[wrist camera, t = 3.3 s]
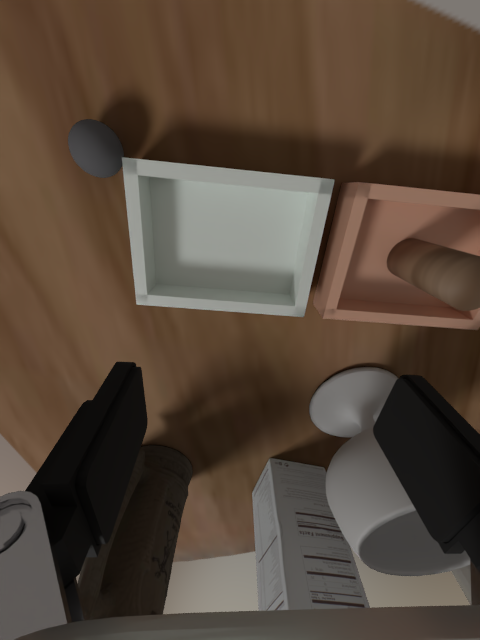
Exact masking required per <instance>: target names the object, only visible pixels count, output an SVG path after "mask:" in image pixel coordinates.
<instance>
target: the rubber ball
mask: <svg viewBox="0 0 480 640" xmlns="http://www.w3.org/2000/svg"><path fill="white" fill-rule="evenodd" d="M68 145H69V150H70V152H71V155H72V157H73V159H74V160H75V162H76V163H77V164H78V165H79V166H80V167H81V168H82V169H83V170H84V171H85V172H87V173H89V174H91V175H93V176H96V177H101V178H106V177H111V176H113V175H115V174H116V173H117V172H118V171H119V170H120V169H121V167H122V157H124V152H123V148H122V145H121V142H120V140H119V138H118V137H117V135H116V134H115V133H114V132H113V131H112V130H111V129H110V128H109V127H108V126H106V125H105V124H103V123H101V122H99V121H96V120H92V119H86V120H81V121H79V122H77V123H76V124H75V125H74V126H73V127H72V128H71V130H70V132H69V137H68Z"/></svg>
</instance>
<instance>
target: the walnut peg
mask: <svg viewBox="0 0 480 640" xmlns="http://www.w3.org/2000/svg"><path fill="white" fill-rule="evenodd" d="M387 268H388V270H389V271H390V272H391V273H392V274H393V275H395V276H397V277H399V278H401V279H402V280H404V281H406V282H408V283H410V284H412V285H414V286H415V287H417V288H419V289H421V290H423V291H425V292H426V293H428V294H430V295H432V296H434V297H436V298H437V299H439V300H441V301H443V302H445V303H447V304H448V305H450V306H452V307H454V308H456V309H458V310H462V311H471V310H475V309H478V308H480V256H477V255H474V254H470V253H466V252H463V251H459V250H455V249H452V248H448V247H445V246H441V245H437V244H434V243H430V242H426V241H423V240H419V239H415V238H408V239H405V240H402V241H400V242H399V243H397V244H396V245H395V246H394V247H393V248H392V249H391V251H390V253H389V255H388V257H387Z"/></svg>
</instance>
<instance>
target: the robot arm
mask: <svg viewBox="0 0 480 640" xmlns="http://www.w3.org/2000/svg"><path fill="white" fill-rule="evenodd" d="M146 429H147V412H146V404H145V395H144V387H143V379H142V370H141V367H136V364H135V363H134V362H116V363H115V365H114V366H113V368H112V370H111V371H110V373H109V374H108V376H107V378H106V379H105V381H104V383H103V384H102V386H101V387H100V389H99V391H98V392H97V394H96V395H95V397H94V399H93V400H87V401H85V402H84V403H83V404H82V405H81V407H80V408H79V410H78V411H77V413H76V414H75V416H74V417H73V419H72V420H71V422H70V423H69V425H68V426H67V428H66V430H65V431H64V433H63V434H62V436H61V437H60V439H59V440H58V442H57V443H56V445H55V446H54V448H53V449H52V451H51V452H50V454H49V455H48V457H47V459H46V460H45V462H44V463H43V465H42V466H41V468H40V469H39V471H38V472H37V474H36V475H35V477H34V478H33V480H32V482H31V483H30V484H29V486H28V488H27V489H26V491H17V492H12V493H8V494H5V495H3V496H1V497H0V640H480V434H479V433H478V432H477V431H476V430H475V429H474V428H473V427H472V426H471V425H470V424H469V423H468V422H467V421H466V420H465V419H464V418H463V417H462V416H461V415H460V414H459V413H458V412H457V411H456V410H455V409H454V408H453V407H452V406H451V405H450V404H449V403H448V402H447V401H446V400H445V399H444V398H443V397H442V396H441V395H440V394H439V393H438V392H437V391H436V390H435V389H434V388H433V387H432V386H431V385H430V384H429V383H428V382H427V381H426V380H425V379H424V378H423V377H422V376H419V375H402V376H401V377H400V378H399V379H397V380H396V382H395V384H394V386H393V388H392V390H391V392H390V394H389V396H388V398H387V400H386V402H385V404H384V406H383V408H382V410H381V412H380V414H379V416H378V418H377V420H376V422H375V424H374V427H373V434H374V437H375V439H376V440H377V442H378V444H379V446H380V447H381V449H382V451H383V453H384V455H385V456H386V458H387V460H388V462H389V463H390V465H391V467H392V469H393V470H394V472H395V474H396V476H397V477H398V479H399V481H400V483H401V485H402V486H403V488H404V490H405V492H406V493H407V495H408V497H409V499H410V500H411V502H412V504H413V506H414V507H415V509H416V511H417V513H418V514H419V516H420V518H421V520H422V522H423V523H424V525H425V527H426V529H427V530H428V532H429V534H430V535H431V537H432V538H433V539H434V540H435V541H437V542H438V544H439V545H440V547H441V549H442V551H443V552H444V554H461V553H462V552H464V551H466V553H467V554H468V556H469V557H470V565H468V566H465V567H462V568H458V569H455V570H451V571H452V573H453V575H454V576H455V578H456V580H457V582H458V583H459V585H460V587H461V589H462V591H463V592H464V594H465V596H466V598H467V599H468V601H469V603H470V605H468V606H418V607H384V608H383V607H381V608H380V607H379V608H340V609H303V610H270V611H239V612H207V613H183V614H162V615H144V616H126V617H111V618H103V619H94V620H87V618H86V614H85V610H84V607H83V603H82V599H81V595H80V592H79V588H78V584H77V580H76V576H77V575H79V574H80V572H81V569H82V566H83V564H84V561H85V558H86V557H98V554H99V552H100V549H101V546H102V544H107V543H108V542H109V540H110V538H111V535H112V532H113V529H114V526H115V523H116V520H117V517H118V514H119V511H120V508H121V505H122V502H123V499H124V496H125V493H126V490H127V487H128V484H129V481H130V478H131V475H132V472H133V469H134V466H135V463H136V460H137V457H138V454H139V451H140V448H141V444H142V441H143V438H144V435H145V432H146Z"/></svg>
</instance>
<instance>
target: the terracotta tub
mask: <svg viewBox="0 0 480 640" xmlns="http://www.w3.org/2000/svg"><path fill="white" fill-rule="evenodd" d="M408 238H415V239H419V240H423V241H426V242H430V243H434V244H437V245H441V246H445V247H448V248H452V249H455V250H459V251H463V252H466V253H470V254H474V255H477V256H480V195H478V194H468V193H458V192H449V191H439V190H430V189H420V188H411V187H401V186H392V185H382V184H373V183H363V182H351V183H341V187H340V191H339V195H338V199H337V204H336V208H335V212H334V216H333V221H332V225H331V229H330V233H329V237H328V242H327V246H326V250H325V254H324V259H323V263H322V267H321V271H320V275H319V280H318V284H317V288H316V292H315V296H314V301H313V304H314V306H315V307H316V309H317V310H318V312H319V313H320V315H321V316H322V318H324V319H337V320H351V321H364V322H377V323H391V324H404V325H417V326H431V327H444V328H457V329H471V330H478V329H479V327H480V308H478V309H475V310H471V311H462V310H458V309H456V308H454V307H452V306H450V305H448V304H447V303H445V302H443V301H441V300H439V299H437V298H436V297H434V296H432V295H430V294H428V293H426V292H425V291H423V290H421V289H419V288H417V287H415V286H414V285H412V284H410V283H408V282H406V281H404V280H402V279H401V278H399V277H397V276H395V275H393V274H392V273H391V272H390V271H389V270H388V268H387V257H388V255H389V253H390V251H391V249H392V248H393V247H394V246H395V245H396V244H397V243H399V242H400V241H402V240H405V239H408Z"/></svg>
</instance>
